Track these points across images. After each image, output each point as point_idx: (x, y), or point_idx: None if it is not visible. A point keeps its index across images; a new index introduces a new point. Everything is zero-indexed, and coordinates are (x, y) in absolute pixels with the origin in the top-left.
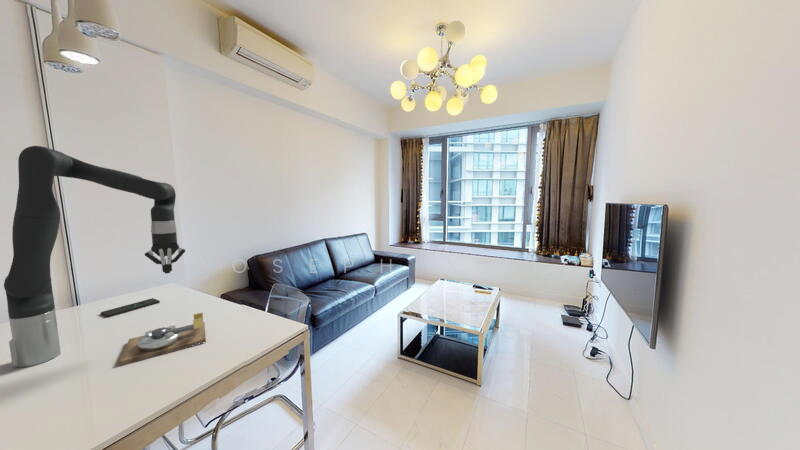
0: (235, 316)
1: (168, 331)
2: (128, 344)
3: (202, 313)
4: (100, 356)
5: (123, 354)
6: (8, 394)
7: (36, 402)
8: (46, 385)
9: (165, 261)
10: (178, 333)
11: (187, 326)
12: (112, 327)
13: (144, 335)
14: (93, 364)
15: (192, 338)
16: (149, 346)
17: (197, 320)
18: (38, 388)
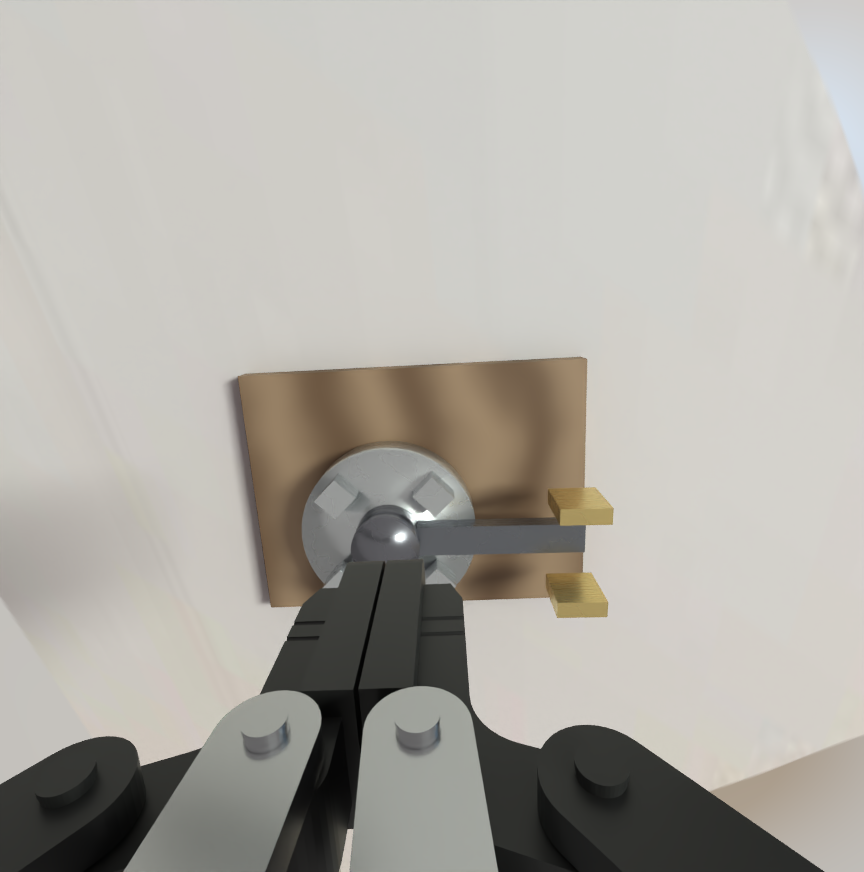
0: (758, 326)
1: (427, 546)
2: (255, 450)
3: (611, 524)
4: (172, 462)
5: (267, 548)
6: (4, 596)
7: (120, 693)
8: (90, 602)
9: (306, 824)
10: (472, 555)
11: (514, 533)
12: (69, 45)
13: (300, 373)
14: (176, 526)
15: (526, 556)
16: None
17: (578, 613)
18: (76, 609)
